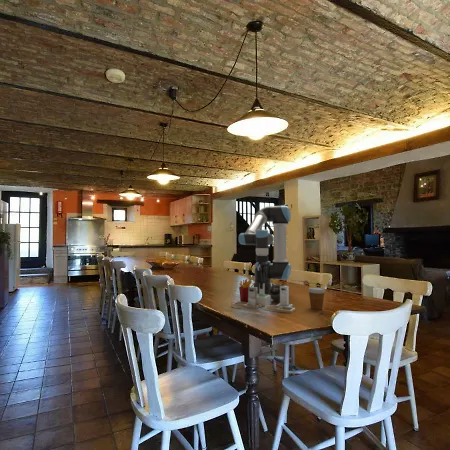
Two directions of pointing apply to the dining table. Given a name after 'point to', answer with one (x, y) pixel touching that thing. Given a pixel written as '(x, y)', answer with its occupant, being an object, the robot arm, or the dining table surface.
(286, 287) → the block
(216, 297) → the dining table surface
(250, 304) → the pallet
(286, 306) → the tote
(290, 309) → the pallet
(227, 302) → the dining table surface
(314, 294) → the disposable coffee cup
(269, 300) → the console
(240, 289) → the french fries
